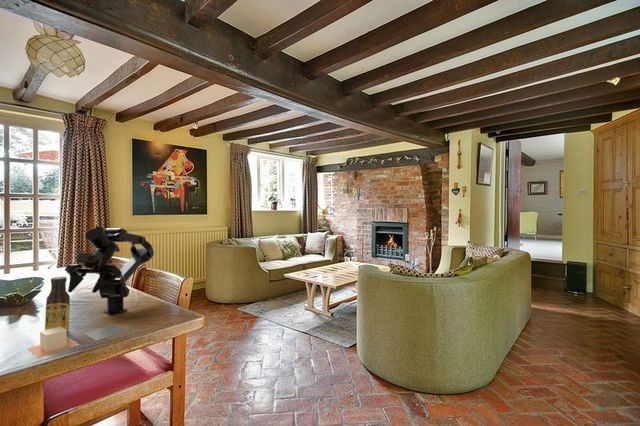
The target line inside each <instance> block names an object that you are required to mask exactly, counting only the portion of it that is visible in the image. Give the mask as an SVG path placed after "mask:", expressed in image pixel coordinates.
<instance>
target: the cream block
mask: <svg viewBox="0 0 640 426" xmlns="http://www.w3.org/2000/svg"><path fill="white" fill-rule="evenodd" d="M39 335H40V336H39V337H40V339H39V341H40V342H39V343H40V344H39V345H40V348H41V349H43V350H44V351H45V352H48V351H52V350H55V349H58V348H61V347H64V346H67V337H68V334H67V330H66V329H64V328H63V327H61V326H60V327H56V328H52V329H48V330H45V329H44V330H41V331H39Z"/></svg>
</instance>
